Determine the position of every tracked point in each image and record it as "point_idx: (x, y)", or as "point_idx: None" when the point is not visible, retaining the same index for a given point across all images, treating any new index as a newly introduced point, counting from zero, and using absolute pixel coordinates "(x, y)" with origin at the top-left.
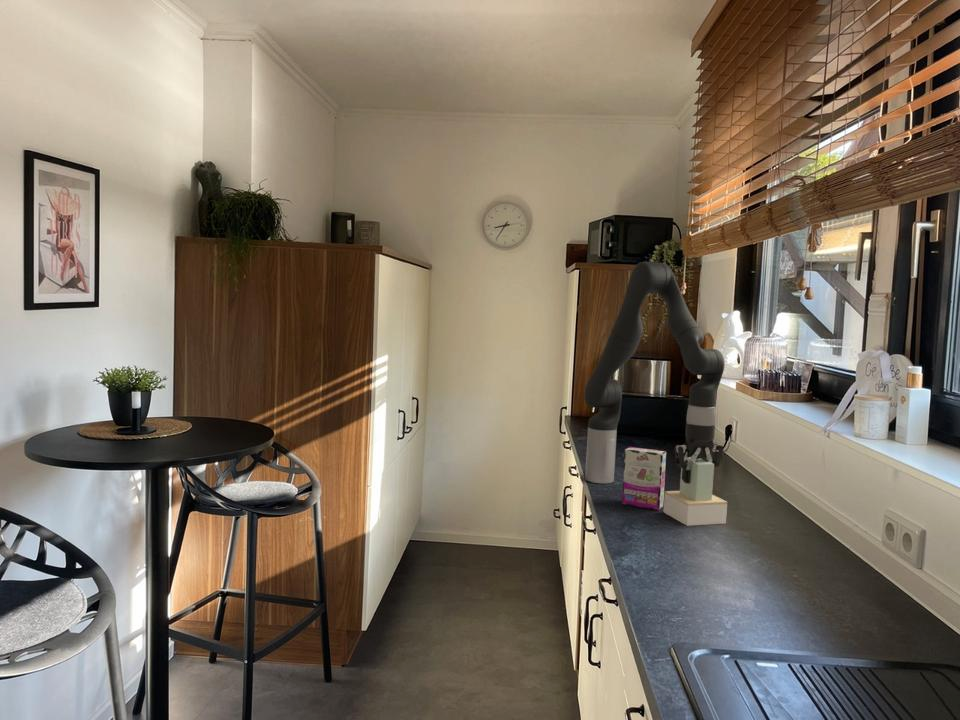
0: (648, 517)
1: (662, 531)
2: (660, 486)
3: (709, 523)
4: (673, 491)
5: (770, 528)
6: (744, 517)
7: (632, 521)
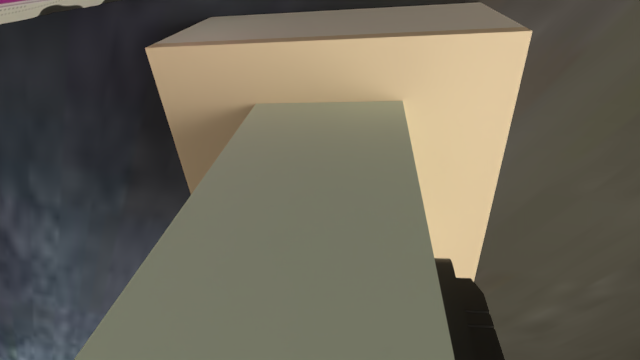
0: (109, 95)
1: (138, 247)
2: (91, 4)
3: None
4: (219, 60)
5: (592, 293)
6: (634, 164)
7: (30, 137)
